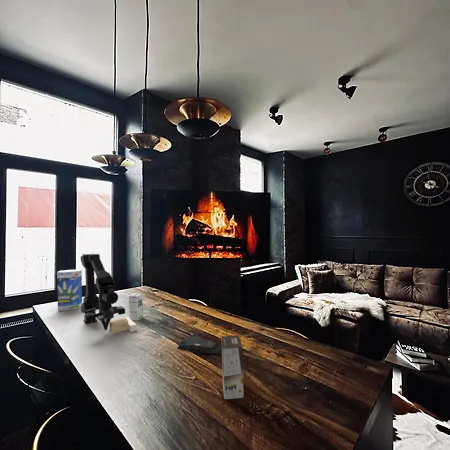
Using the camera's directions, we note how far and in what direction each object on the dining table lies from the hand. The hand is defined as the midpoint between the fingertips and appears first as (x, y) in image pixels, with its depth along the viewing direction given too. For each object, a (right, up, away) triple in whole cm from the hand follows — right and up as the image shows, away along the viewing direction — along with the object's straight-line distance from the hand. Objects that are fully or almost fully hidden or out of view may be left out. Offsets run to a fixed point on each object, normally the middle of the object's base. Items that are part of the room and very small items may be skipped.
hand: (105, 330), depth 133 cm
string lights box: (-43, -3, +42) cm, 61 cm away
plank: (+10, -1, +7) cm, 12 cm away
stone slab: (+51, -1, -18) cm, 54 cm away
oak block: (+5, -2, +4) cm, 7 cm away
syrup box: (+9, -1, +19) cm, 22 cm away
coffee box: (+64, 0, -48) cm, 80 cm away
